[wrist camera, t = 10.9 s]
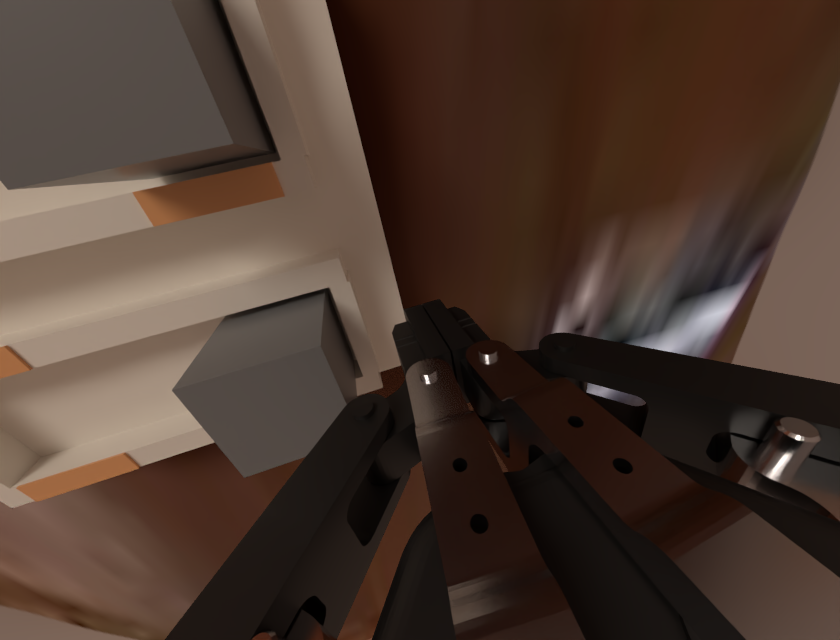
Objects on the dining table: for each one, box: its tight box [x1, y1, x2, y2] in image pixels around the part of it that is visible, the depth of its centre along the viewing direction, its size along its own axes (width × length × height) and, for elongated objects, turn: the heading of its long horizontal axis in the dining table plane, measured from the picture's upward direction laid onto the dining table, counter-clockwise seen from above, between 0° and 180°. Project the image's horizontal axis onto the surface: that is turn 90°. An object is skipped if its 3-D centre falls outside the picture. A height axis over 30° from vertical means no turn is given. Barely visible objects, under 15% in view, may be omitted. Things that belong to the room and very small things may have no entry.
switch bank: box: [0, 0, 406, 508], centre depth 11 cm, size 16×20×4 cm
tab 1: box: [0, 0, 276, 190], centre depth 7 cm, size 4×4×5 cm
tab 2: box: [172, 288, 357, 478], centre depth 11 cm, size 4×4×5 cm
